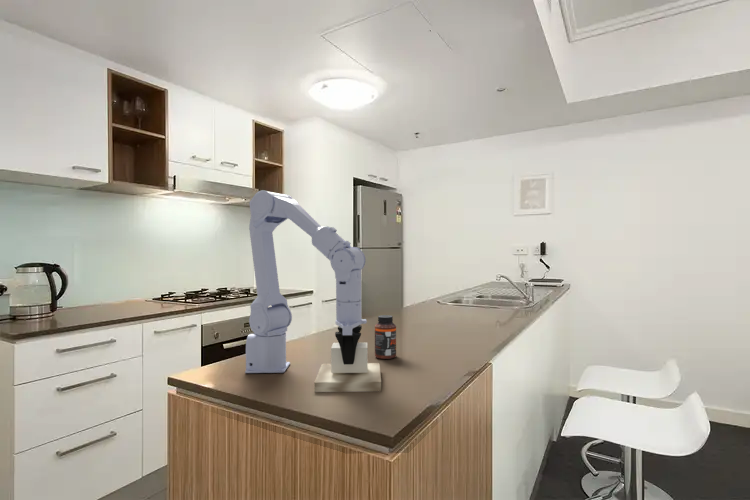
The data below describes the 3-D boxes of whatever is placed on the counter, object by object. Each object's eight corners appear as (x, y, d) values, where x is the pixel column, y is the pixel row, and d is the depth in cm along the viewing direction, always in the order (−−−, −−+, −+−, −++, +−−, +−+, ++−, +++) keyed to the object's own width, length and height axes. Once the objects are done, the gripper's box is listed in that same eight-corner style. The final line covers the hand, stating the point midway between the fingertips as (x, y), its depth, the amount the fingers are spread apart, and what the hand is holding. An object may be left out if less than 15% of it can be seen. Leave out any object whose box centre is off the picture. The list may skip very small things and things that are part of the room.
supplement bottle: (394, 360, 110) (394, 318, 110) (372, 359, 111) (372, 317, 111) (397, 354, 116) (397, 314, 115) (377, 353, 117) (376, 314, 117)
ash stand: (314, 392, 86) (314, 382, 86) (322, 371, 100) (322, 363, 100) (381, 391, 86) (381, 381, 86) (379, 371, 100) (379, 363, 100)
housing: (331, 372, 91) (331, 345, 90) (333, 366, 96) (333, 340, 96) (367, 372, 91) (367, 345, 91) (367, 366, 96) (367, 340, 96)
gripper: (366, 305, 86) (366, 369, 86) (366, 296, 100) (367, 352, 100) (332, 305, 86) (332, 370, 86) (337, 296, 100) (338, 352, 100)
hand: (349, 360), depth 93 cm, fingers closed on housing, 5 cm apart
